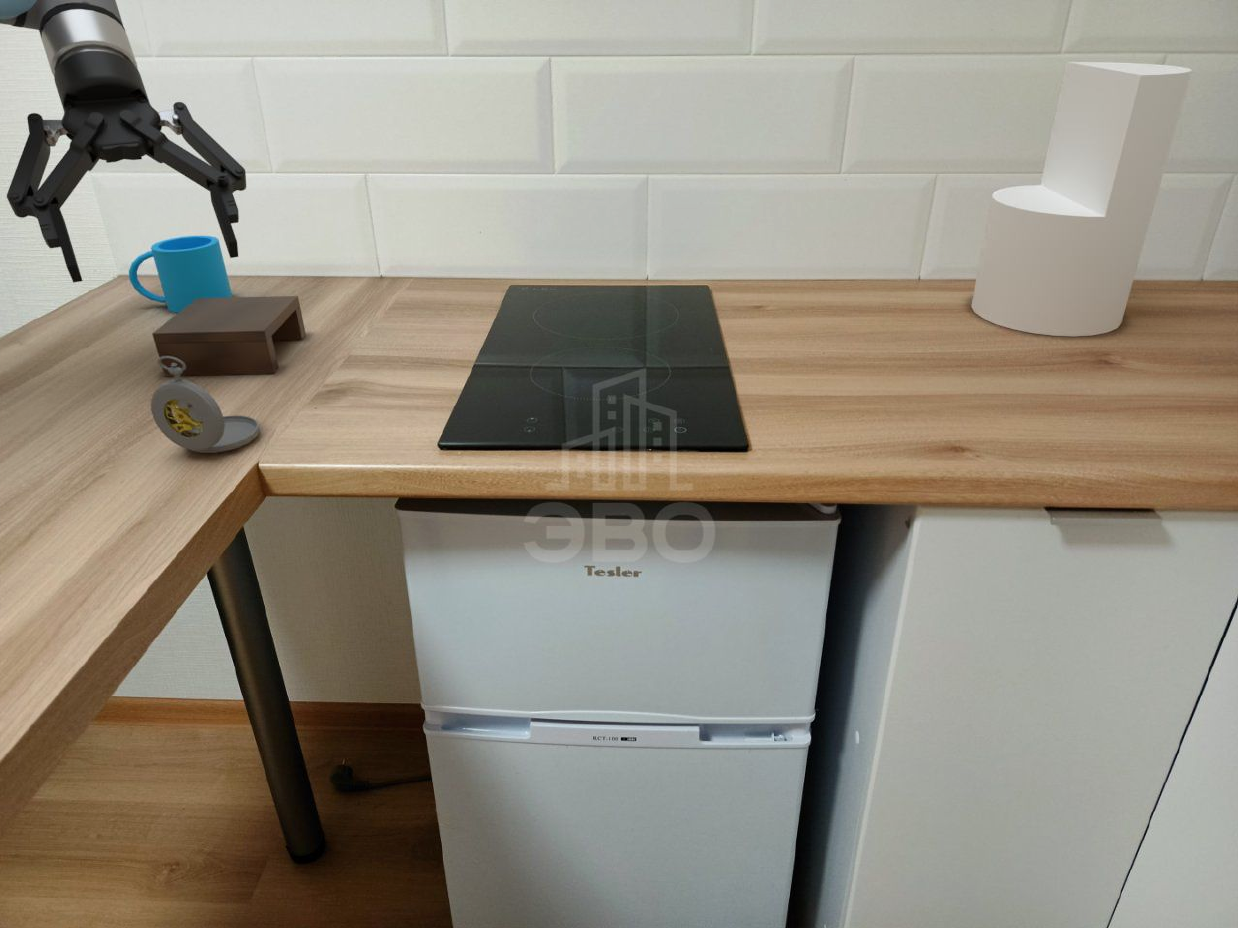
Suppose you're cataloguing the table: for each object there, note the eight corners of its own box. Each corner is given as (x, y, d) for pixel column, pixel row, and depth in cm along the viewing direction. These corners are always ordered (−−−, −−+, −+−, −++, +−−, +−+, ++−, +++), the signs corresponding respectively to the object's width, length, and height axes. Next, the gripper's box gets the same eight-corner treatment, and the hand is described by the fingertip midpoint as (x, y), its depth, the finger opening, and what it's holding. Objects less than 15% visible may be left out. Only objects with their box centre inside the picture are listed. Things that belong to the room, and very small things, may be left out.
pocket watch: (260, 419, 84) (236, 322, 80) (262, 457, 78) (236, 354, 73) (169, 434, 82) (139, 335, 77) (162, 475, 75) (129, 369, 70)
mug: (238, 292, 121) (224, 233, 117) (226, 310, 114) (211, 249, 110) (146, 299, 119) (129, 239, 115) (129, 318, 112) (110, 256, 108)
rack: (164, 376, 94) (151, 333, 92) (207, 337, 105) (197, 298, 102) (274, 373, 95) (264, 330, 92) (306, 335, 105) (298, 295, 103)
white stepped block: (1082, 290, 115) (1140, 61, 102) (1149, 335, 100) (1227, 73, 87) (952, 291, 116) (993, 63, 102) (999, 337, 101) (1054, 76, 87)
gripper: (233, 91, 93) (293, 260, 89) (-42, 112, 82) (13, 306, 78) (229, 39, 86) (293, 219, 83) (-70, 54, 76) (-12, 262, 72)
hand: (157, 262), depth 80 cm, fingers open, 13 cm apart
